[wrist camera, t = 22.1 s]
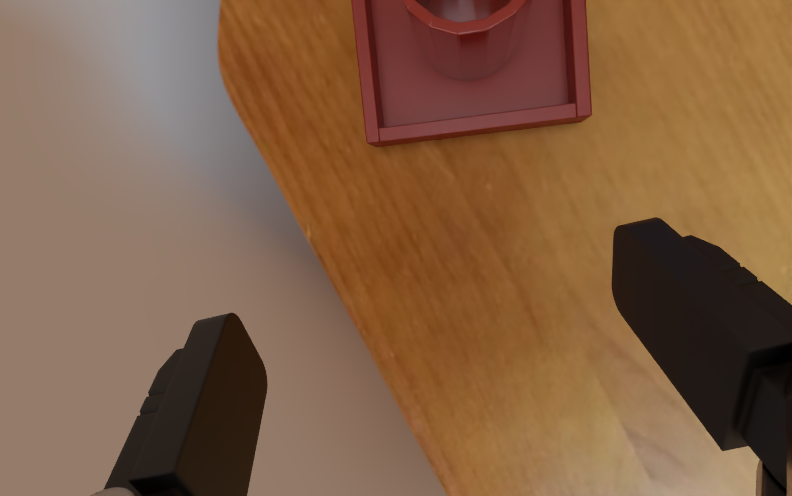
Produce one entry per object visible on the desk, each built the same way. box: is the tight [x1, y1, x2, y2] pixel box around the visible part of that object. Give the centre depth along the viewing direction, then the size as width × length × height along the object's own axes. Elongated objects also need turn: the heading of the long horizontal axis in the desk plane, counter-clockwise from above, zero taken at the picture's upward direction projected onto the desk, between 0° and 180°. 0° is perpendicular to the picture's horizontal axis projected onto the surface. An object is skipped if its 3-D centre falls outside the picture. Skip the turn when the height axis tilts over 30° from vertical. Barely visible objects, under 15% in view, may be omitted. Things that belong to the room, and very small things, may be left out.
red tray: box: [351, 0, 592, 147], centre depth 27 cm, size 13×13×3 cm
